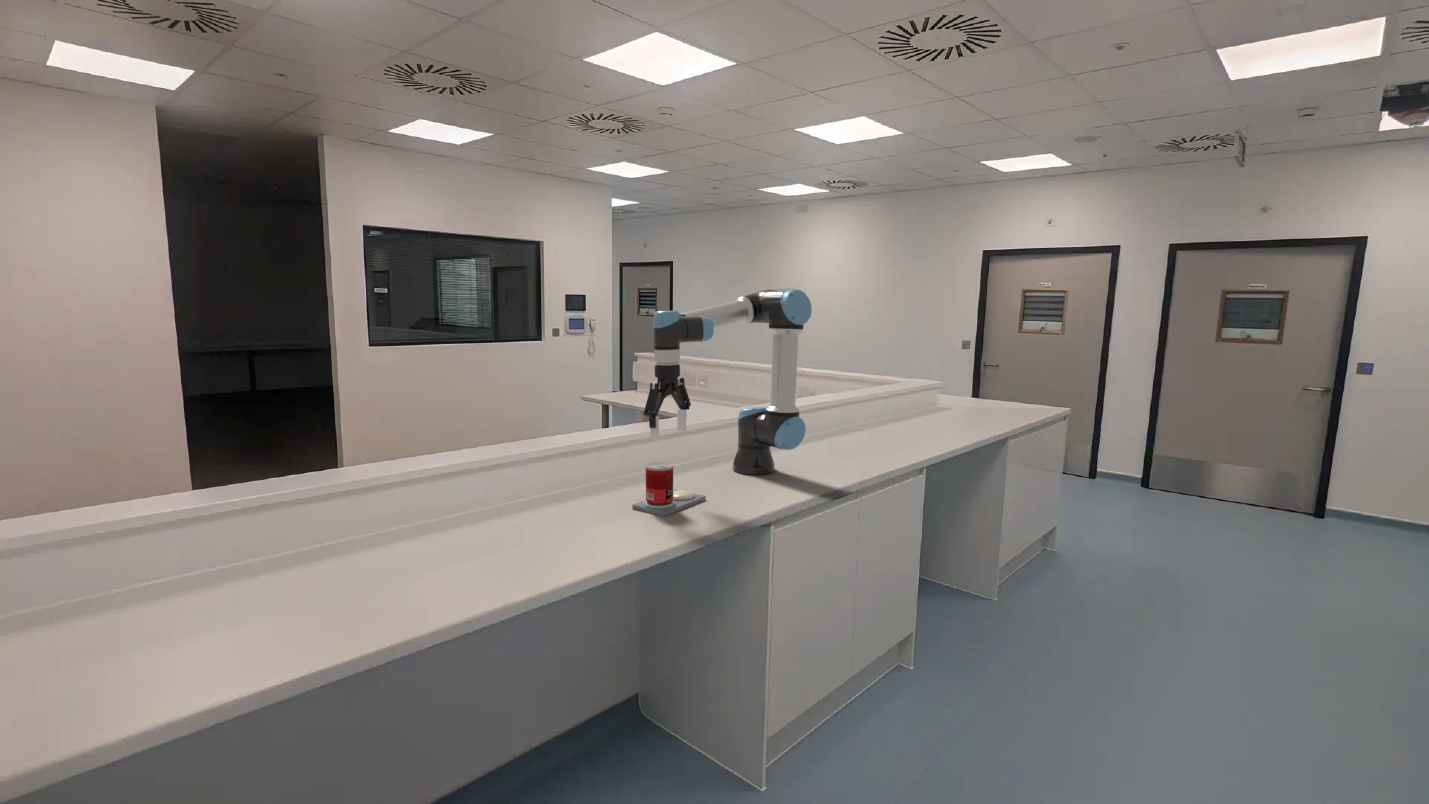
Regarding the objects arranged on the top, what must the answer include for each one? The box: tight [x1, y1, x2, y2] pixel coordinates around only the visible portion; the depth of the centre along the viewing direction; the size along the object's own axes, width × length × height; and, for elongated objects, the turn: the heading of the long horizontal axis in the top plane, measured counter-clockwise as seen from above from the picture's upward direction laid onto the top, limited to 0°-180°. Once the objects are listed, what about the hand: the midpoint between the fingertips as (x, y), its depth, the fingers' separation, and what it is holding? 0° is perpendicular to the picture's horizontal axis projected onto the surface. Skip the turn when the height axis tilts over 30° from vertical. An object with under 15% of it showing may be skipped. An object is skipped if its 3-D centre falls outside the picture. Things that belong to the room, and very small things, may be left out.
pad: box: [643, 500, 675, 509], centre depth 189 cm, size 9×9×1 cm
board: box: [631, 489, 707, 517], centre depth 194 cm, size 20×12×2 cm, turn 146°
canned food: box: [645, 462, 674, 506], centre depth 189 cm, size 8×8×11 cm
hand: (668, 434), depth 194 cm, fingers open, 13 cm apart
